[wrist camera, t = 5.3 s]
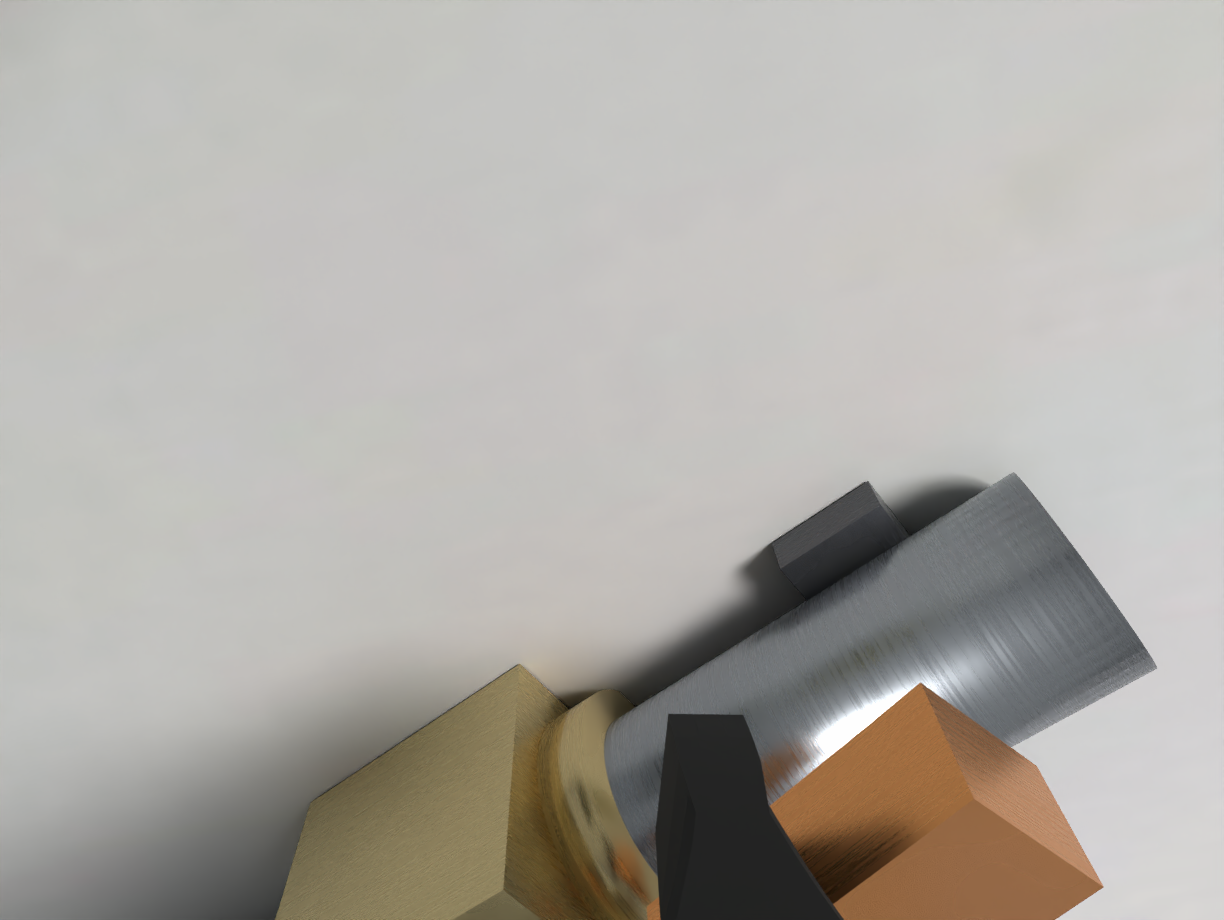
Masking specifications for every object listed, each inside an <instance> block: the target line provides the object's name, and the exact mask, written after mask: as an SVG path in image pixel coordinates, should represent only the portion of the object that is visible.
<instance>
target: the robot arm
mask: <svg viewBox="0 0 1224 920" xmlns="http://www.w3.org/2000/svg"><path fill="white" fill-rule="evenodd" d="M655 837H656V855H657V874H658V891H659V907H660V918H661V920H844V919H843V918H842V916H841V915H840V913H839V912H838V911H837V909H836V908H835V906H834V905H833V904H832V902H831V901H830V899H829V898H828V897H827V895H826V894H825V892H824V891H823V889H822V888H821V886H820V885H819V883H818V882H817V880H816V879H815V877H814V876H813V874H812V873H811V871H810V870H809V869H808V867H807V865H806V864H805V862H804V861H803V859H802V857H801V856H800V854H799V853H798V851H797V850H796V848H795V846H794V845H793V843H792V842H791V840H790V838H789V837H788V835H787V834H786V832H785V831H784V829H783V827H782V826H781V824H780V823H779V821H778V819H777V818H776V816H775V814H774V812H773V811H772V809H771V807H770V806H769V804H768V800H767V794H766V788H765V782H764V776H763V770H762V765H761V760H760V757H759V754H758V751H757V748H756V746H755V743H754V740H753V737H752V735H751V732H750V730H749V727H748V725H747V722H746V720H745V718H744V715H724V714H668V721H667V730H666V739H665V748H664V758H663V767H662V776H661V785H660V794H659V803H658V812H657V821H656V830H655Z"/></svg>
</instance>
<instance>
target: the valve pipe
mask: <svg viewBox="0 0 1224 920" xmlns="http://www.w3.org/2000/svg"><path fill="white" fill-rule="evenodd" d="M772 545H773V548H774V552H775V555H776V558H777V561H778V564H779V567H780V569H781V571H782V572H783V573H784V574H785V575H786V576H787V578H788V579H789V580H790V581H791V582H792V583H793V584H794V586H795V587H796V588H797V589H798V590H799V591H800V593H801V594H802V595H803V596H804V597H805V598H806V600H807V601H805V602H804V603H802V604H801V605H799V606H797V607H796V608H794V609H793V610H791V611H789V612H788V613H786V614H784V615H783V616H781V617H780V618H778V619H776V620H775V621H773V622H772V623H770V624H768V625H767V626H765V627H764V628H762V629H760V630H759V631H757V632H756V633H754V634H752V635H751V636H749V637H748V638H746V639H744V640H743V641H741V642H739V643H738V644H736V645H735V646H733V647H731V648H730V649H728V650H727V651H725V652H723V653H722V654H720V655H719V656H717V657H715V658H714V659H712V660H711V661H709V662H707V663H706V664H704V665H703V666H701V667H699V668H698V669H696V670H694V671H693V672H691V673H690V674H688V675H686V676H685V677H683V678H682V679H680V680H678V681H677V682H675V683H674V684H672V685H670V686H669V687H667V688H666V689H664V690H662V691H661V692H659V693H658V694H656V695H654V696H653V697H651V698H650V699H648V700H646V701H645V702H643V703H641V704H640V705H638V706H637V707H635V706H634V705H633V704H632V703H631V702H630V701H629V700H628V699H627V698H626V697H625V696H623V695H622V694H621V693H620V692H619V691H617V690H612V689H604V690H601V691H598V692H596V693H595V694H593V695H592V696H590V697H588V698H587V699H585V700H584V701H582V702H581V703H579V704H577V705H576V706H574V707H573V708H571V709H570V710H569V709H568V708H567V707H566V706H565V705H564V704H563V703H562V702H561V701H559V700H558V699H557V698H556V697H555V696H554V695H553V694H552V693H551V692H550V691H549V690H547V689H546V688H545V687H544V686H543V685H542V684H541V683H540V682H539V681H538V680H537V679H536V678H534V677H533V676H532V675H531V674H530V673H529V672H528V671H527V670H526V669H525V668H524V667H523V666H521V665H520V664H519V665H517V666H516V667H514V668H513V669H511V670H510V671H508V672H507V673H505V674H504V675H502V676H501V677H499V678H498V679H496V680H495V681H493V682H492V683H490V684H489V685H487V686H486V687H484V688H483V689H481V690H480V691H478V692H477V693H475V694H474V695H472V696H471V697H469V698H468V699H466V700H465V701H463V702H462V703H460V704H459V705H457V706H456V707H454V708H453V709H451V710H450V711H448V712H447V713H445V714H443V715H442V716H440V717H439V718H437V719H436V720H434V721H433V722H431V723H430V724H428V725H427V726H425V727H424V728H422V729H421V730H419V731H418V732H416V733H415V734H413V735H412V736H410V737H409V738H407V739H406V740H404V741H403V742H401V743H400V744H398V745H397V746H395V747H394V748H392V749H391V750H389V751H388V752H386V753H385V754H383V755H382V756H380V757H379V758H377V759H376V760H374V761H373V762H371V763H370V764H368V765H367V766H365V767H364V768H362V769H361V770H359V771H358V772H356V773H355V774H353V775H352V776H350V777H349V778H347V779H345V780H344V781H342V782H341V783H339V784H338V785H336V786H335V787H333V788H332V789H330V790H329V791H327V792H326V793H324V794H323V795H321V796H320V797H318V798H317V799H315V800H314V801H312V802H311V803H310V806H309V809H308V813H307V816H306V819H305V823H304V826H303V829H302V833H301V836H300V839H299V843H298V846H297V849H296V853H295V856H294V859H293V863H292V866H291V869H290V873H289V876H288V879H287V882H286V886H285V889H284V892H283V896H282V899H281V902H280V906H279V909H278V912H277V914H276V917H275V920H648V919H647V906H648V905H649V904H651V903H652V902H653V901H654V900H655V899H657V898H658V897H659V891H658V874H657V855H656V837H655V830H656V821H657V812H658V803H659V794H660V785H661V776H662V767H663V758H664V748H665V739H666V730H667V721H668V714H724V715H744V718H745V720H746V722H747V725H748V727H749V730H750V732H751V735H752V737H753V740H754V743H755V746H756V748H757V751H758V754H759V757H760V760H761V765H762V770H763V776H764V782H765V788H766V794H767V800H768V804H769V806H770V805H771V804H773V803H774V802H775V801H776V800H777V799H779V798H780V797H781V796H782V795H784V794H785V793H786V792H787V791H788V790H790V789H791V788H792V787H793V786H794V785H796V784H797V783H798V782H799V781H801V780H802V779H803V778H804V777H805V776H807V775H808V774H809V773H810V772H812V771H813V770H814V769H815V768H816V767H818V766H819V765H820V764H821V763H823V762H824V761H825V760H826V759H827V758H829V757H830V756H831V755H832V754H834V753H835V752H836V751H837V750H838V749H840V748H841V747H842V746H843V745H845V744H846V743H847V742H848V741H849V740H851V739H852V738H853V737H854V736H856V735H857V734H858V733H859V732H860V731H862V730H863V729H864V728H865V727H866V726H868V725H869V724H870V723H871V722H873V721H874V720H875V719H876V718H877V717H879V716H880V715H881V714H882V713H884V712H885V711H886V710H887V709H888V708H890V707H891V706H892V705H893V704H895V703H896V702H897V701H898V700H899V699H901V698H902V697H903V696H904V695H906V694H907V693H908V692H909V691H910V690H912V689H913V688H914V687H915V686H917V685H918V684H919V683H920V682H921V683H922V684H923V685H925V686H926V687H928V688H929V689H930V690H932V691H933V692H935V693H936V694H937V695H939V696H940V697H941V698H943V699H944V700H946V701H947V702H948V703H950V704H951V705H953V706H954V707H955V708H957V709H958V710H959V711H961V712H962V713H964V714H965V715H966V716H968V717H969V718H971V719H972V720H973V721H975V722H976V723H978V724H979V725H980V726H982V727H983V728H984V729H986V730H987V731H989V732H990V733H991V734H993V735H994V736H996V737H997V738H998V739H1000V740H1001V741H1003V742H1004V743H1005V744H1007V745H1008V746H1009V747H1012V746H1014V745H1016V744H1018V743H1020V742H1022V741H1024V740H1025V739H1027V738H1029V737H1031V736H1033V735H1035V734H1037V733H1038V732H1040V731H1042V730H1044V729H1046V728H1048V727H1049V726H1051V725H1053V724H1055V723H1057V722H1059V721H1061V720H1062V719H1064V718H1066V717H1068V716H1070V715H1072V714H1074V713H1075V712H1077V711H1079V710H1081V709H1083V708H1085V707H1087V706H1088V705H1090V704H1092V703H1094V702H1096V701H1098V700H1099V699H1101V698H1103V697H1105V696H1107V695H1109V694H1111V693H1112V692H1114V691H1116V690H1118V689H1120V688H1122V687H1124V686H1125V685H1127V684H1129V683H1131V682H1133V681H1135V680H1137V679H1138V678H1140V677H1142V676H1144V675H1146V674H1148V673H1150V672H1151V671H1153V670H1155V669H1157V666H1156V665H1155V663H1154V661H1153V659H1152V658H1151V656H1150V654H1149V653H1148V651H1147V650H1146V648H1145V647H1144V645H1143V644H1142V642H1141V641H1140V639H1139V638H1138V636H1137V635H1136V633H1135V632H1134V630H1133V629H1132V627H1131V626H1130V625H1129V623H1128V622H1127V620H1126V619H1125V617H1124V616H1123V615H1122V613H1121V612H1120V610H1119V609H1118V607H1117V606H1116V605H1115V603H1114V602H1113V600H1112V599H1111V598H1110V596H1109V595H1108V593H1107V592H1106V591H1105V589H1104V588H1103V586H1102V585H1101V584H1100V582H1099V581H1098V580H1097V578H1096V577H1095V575H1094V574H1093V573H1092V571H1091V570H1090V569H1089V567H1088V566H1087V564H1086V563H1085V562H1084V560H1083V559H1082V558H1081V556H1080V555H1079V554H1078V552H1077V551H1076V550H1075V548H1074V547H1073V546H1072V544H1071V543H1070V542H1069V540H1068V539H1067V538H1066V536H1065V535H1064V534H1063V532H1062V531H1061V530H1060V528H1059V527H1058V526H1057V524H1056V523H1055V522H1054V520H1053V519H1052V518H1051V517H1050V515H1049V514H1048V513H1047V511H1046V510H1045V509H1044V507H1043V506H1042V505H1041V504H1040V502H1039V501H1038V500H1037V499H1036V497H1035V496H1034V495H1033V494H1032V492H1031V491H1030V490H1029V489H1028V487H1027V486H1026V485H1025V484H1024V483H1023V482H1022V480H1021V479H1020V478H1019V477H1018V476H1017V475H1016V474H1015V473H1014V472H1013V473H1011V474H1009V475H1008V476H1006V477H1005V478H1003V479H1001V480H1000V481H998V482H997V483H995V484H993V485H992V486H990V487H989V488H987V489H985V490H984V491H982V492H980V493H979V494H977V495H976V496H974V497H972V498H971V499H969V500H968V501H966V502H964V503H963V504H961V505H960V506H958V507H956V508H955V509H953V510H952V511H950V512H948V513H947V514H945V515H944V516H942V517H940V518H939V519H937V520H935V521H934V522H932V523H931V524H929V525H927V526H926V527H924V528H923V529H921V530H919V531H918V532H916V533H915V534H913V535H911V536H910V535H909V534H908V532H907V531H906V530H905V528H904V527H903V526H902V525H901V523H900V522H899V521H898V519H897V518H896V517H895V515H894V514H893V513H892V512H891V510H890V509H889V508H888V506H887V505H886V504H885V502H884V501H883V500H882V499H881V497H880V496H879V495H878V493H877V492H876V491H875V489H874V488H873V487H872V486H871V484H870V483H869V482H868V481H867V482H866V483H864V484H863V485H861V486H860V487H858V488H857V489H855V490H854V491H852V492H851V493H849V494H847V495H846V496H844V497H843V498H841V499H840V500H838V501H837V502H835V503H834V504H832V505H830V506H829V507H827V508H826V509H824V510H823V511H821V512H820V513H818V514H817V515H815V516H813V517H812V518H810V519H809V520H807V521H806V522H804V523H803V524H801V525H800V526H798V527H797V528H795V529H793V530H792V531H790V532H789V533H787V534H786V535H784V536H783V537H781V538H780V539H778V540H776V541H775V542H773V543H772Z"/></svg>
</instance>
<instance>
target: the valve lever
mask: <svg viewBox="0 0 1224 920" xmlns="http://www.w3.org/2000/svg"><path fill="white" fill-rule="evenodd" d="M770 807H771V809H772V811H773V812H774V814H775V816H776V818H777V819H778V821H779V823H780V824H781V826H782V827H783V829H784V831H785V832H786V834H787V835H788V837H789V838H790V840H791V842H792V843H793V845H794V846H795V848H796V850H797V851H798V853H799V854H800V856H801V857H802V859H803V861H804V862H805V864H806V865H807V867H808V869H809V870H810V871H811V873H812V874H813V876H814V877H815V879H816V880H817V882H818V883H819V885H820V886H821V888H822V889H823V891H824V892H825V894H826V895H827V897H828V898H829V899H830V901H831V902H832V904H833V905H834V906H835V908H836V909H837V911H838V912H839V913H840V915H841V916H842V918H843V919H844V920H1055V919H1057V918H1058V917H1060V916H1061V915H1063V914H1064V913H1066V912H1067V911H1069V910H1070V909H1072V908H1073V907H1075V906H1076V905H1078V904H1079V903H1081V902H1082V901H1084V900H1085V899H1087V898H1088V897H1090V896H1091V895H1093V894H1094V893H1095V892H1097V891H1098V890H1100V889H1101V888H1103V885H1102V883H1101V881H1100V880H1099V878H1098V876H1097V874H1096V872H1095V871H1094V869H1093V867H1092V865H1091V863H1090V862H1089V860H1088V858H1087V856H1086V854H1085V853H1084V851H1083V849H1082V847H1081V845H1080V843H1079V842H1078V840H1077V838H1076V836H1075V834H1074V833H1073V831H1072V829H1071V827H1070V825H1069V824H1068V822H1067V820H1066V818H1065V816H1064V815H1063V813H1062V811H1061V809H1060V807H1059V806H1058V804H1057V802H1056V800H1055V798H1054V797H1053V795H1052V793H1051V791H1050V789H1049V788H1048V786H1047V784H1046V782H1045V780H1044V778H1043V777H1042V775H1041V773H1040V771H1039V769H1038V768H1037V766H1036V765H1034V764H1033V763H1032V762H1030V761H1029V760H1028V759H1026V758H1025V757H1023V756H1022V755H1021V754H1019V753H1018V752H1016V751H1015V750H1014V749H1012V748H1011V747H1009V746H1008V745H1007V744H1005V743H1004V742H1003V741H1001V740H1000V739H998V738H997V737H996V736H994V735H993V734H991V733H990V732H989V731H987V730H986V729H984V728H983V727H982V726H980V725H979V724H978V723H976V722H975V721H973V720H972V719H971V718H969V717H968V716H966V715H965V714H964V713H962V712H961V711H959V710H958V709H957V708H955V707H954V706H953V705H951V704H950V703H948V702H947V701H946V700H944V699H943V698H941V697H940V696H939V695H937V694H936V693H935V692H933V691H932V690H930V689H929V688H928V687H926V686H925V685H923V684H922V683H921V682H920V683H919V684H918V685H917V686H915V687H914V688H913V689H912V690H910V691H909V692H908V693H907V694H906V695H904V696H903V697H902V698H901V699H899V700H898V701H897V702H896V703H895V704H893V705H892V706H891V707H890V708H888V709H887V710H886V711H885V712H884V713H882V714H881V715H880V716H879V717H877V718H876V719H875V720H874V721H873V722H871V723H870V724H869V725H868V726H866V727H865V728H864V729H863V730H862V731H860V732H859V733H858V734H857V735H856V736H854V737H853V738H852V739H851V740H849V741H848V742H847V743H846V744H845V745H843V746H842V747H841V748H840V749H838V750H837V751H836V752H835V753H834V754H832V755H831V756H830V757H829V758H827V759H826V760H825V761H824V762H823V763H821V764H820V765H819V766H818V767H816V768H815V769H814V770H813V771H812V772H810V773H809V774H808V775H807V776H805V777H804V778H803V779H802V780H801V781H799V782H798V783H797V784H796V785H794V786H793V787H792V788H791V789H790V790H788V791H787V792H786V793H785V794H784V795H782V796H781V797H780V798H779V799H777V800H776V801H775V802H774V803H773V804H771V805H770ZM647 919H648V920H661V918H660V907H659V897H658V898H657V899H655V900H654V901H653V902H652V903H651V904H649V905H648V906H647Z"/></svg>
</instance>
